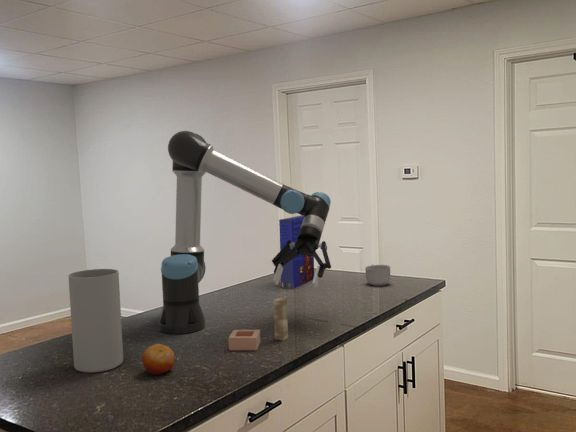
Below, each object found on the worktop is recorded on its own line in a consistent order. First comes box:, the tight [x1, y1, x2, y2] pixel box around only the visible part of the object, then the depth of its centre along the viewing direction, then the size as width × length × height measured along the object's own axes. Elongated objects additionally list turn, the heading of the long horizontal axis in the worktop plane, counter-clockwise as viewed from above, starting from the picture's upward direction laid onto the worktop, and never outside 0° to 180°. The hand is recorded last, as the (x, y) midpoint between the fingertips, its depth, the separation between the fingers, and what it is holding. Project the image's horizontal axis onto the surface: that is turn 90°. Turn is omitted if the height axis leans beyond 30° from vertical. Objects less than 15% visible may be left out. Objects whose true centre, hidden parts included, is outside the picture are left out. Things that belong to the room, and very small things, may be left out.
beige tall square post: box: [273, 297, 289, 341], centre depth 165 cm, size 3×3×12 cm
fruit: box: [141, 343, 175, 376], centre depth 140 cm, size 8×8×8 cm
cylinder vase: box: [68, 268, 124, 374], centre depth 145 cm, size 12×12×25 cm
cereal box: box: [278, 215, 315, 290], centre depth 245 cm, size 22×6×30 cm, turn 153°
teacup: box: [364, 264, 391, 287], centre depth 240 cm, size 14×11×8 cm
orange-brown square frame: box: [228, 329, 261, 351], centre depth 159 cm, size 8×8×4 cm
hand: (294, 284), depth 173 cm, fingers open, 13 cm apart
